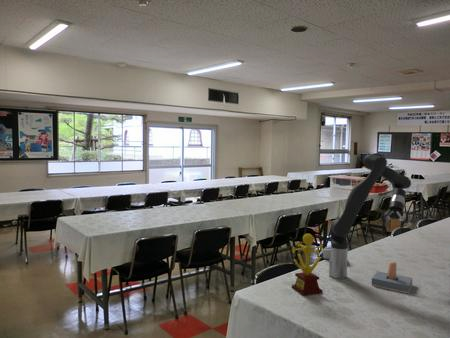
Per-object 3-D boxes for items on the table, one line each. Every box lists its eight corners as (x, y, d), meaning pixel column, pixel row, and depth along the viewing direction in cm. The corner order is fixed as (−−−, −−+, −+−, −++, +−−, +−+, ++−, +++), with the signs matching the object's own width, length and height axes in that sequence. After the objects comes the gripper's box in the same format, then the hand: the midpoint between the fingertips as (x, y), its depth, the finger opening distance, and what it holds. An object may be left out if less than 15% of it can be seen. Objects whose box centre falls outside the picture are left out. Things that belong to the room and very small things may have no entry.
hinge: (349, 262, 232) (347, 249, 229) (345, 266, 229) (343, 252, 226) (326, 256, 244) (324, 243, 242) (322, 260, 241) (320, 247, 239)
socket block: (371, 285, 192) (371, 278, 192) (377, 277, 204) (377, 271, 203) (408, 293, 182) (408, 285, 182) (412, 285, 193) (412, 277, 193)
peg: (387, 284, 192) (387, 262, 192) (388, 282, 196) (389, 261, 195) (395, 286, 190) (395, 264, 189) (396, 283, 193) (397, 262, 193)
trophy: (288, 293, 180) (289, 235, 178) (295, 283, 194) (296, 229, 192) (317, 298, 174) (318, 238, 172) (322, 287, 188) (323, 232, 187)
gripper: (383, 199, 210) (378, 221, 201) (410, 201, 202) (406, 224, 193) (384, 206, 214) (380, 228, 206) (411, 209, 206) (407, 232, 198)
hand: (392, 226), depth 199 cm, fingers open, 8 cm apart
